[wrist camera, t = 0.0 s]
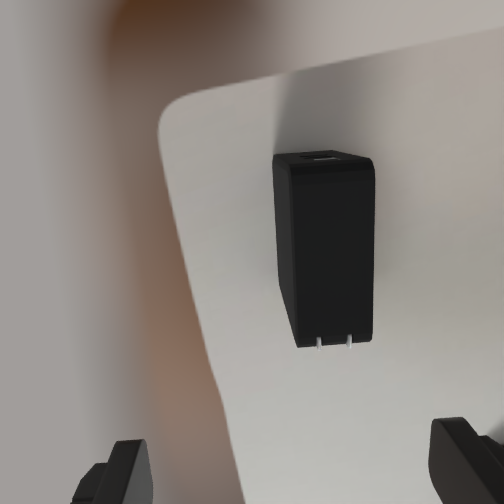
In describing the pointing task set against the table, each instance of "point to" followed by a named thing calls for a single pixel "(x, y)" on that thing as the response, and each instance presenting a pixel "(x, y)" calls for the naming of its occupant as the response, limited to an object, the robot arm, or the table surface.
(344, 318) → the electronic device
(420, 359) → the table surface
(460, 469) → the robot arm
